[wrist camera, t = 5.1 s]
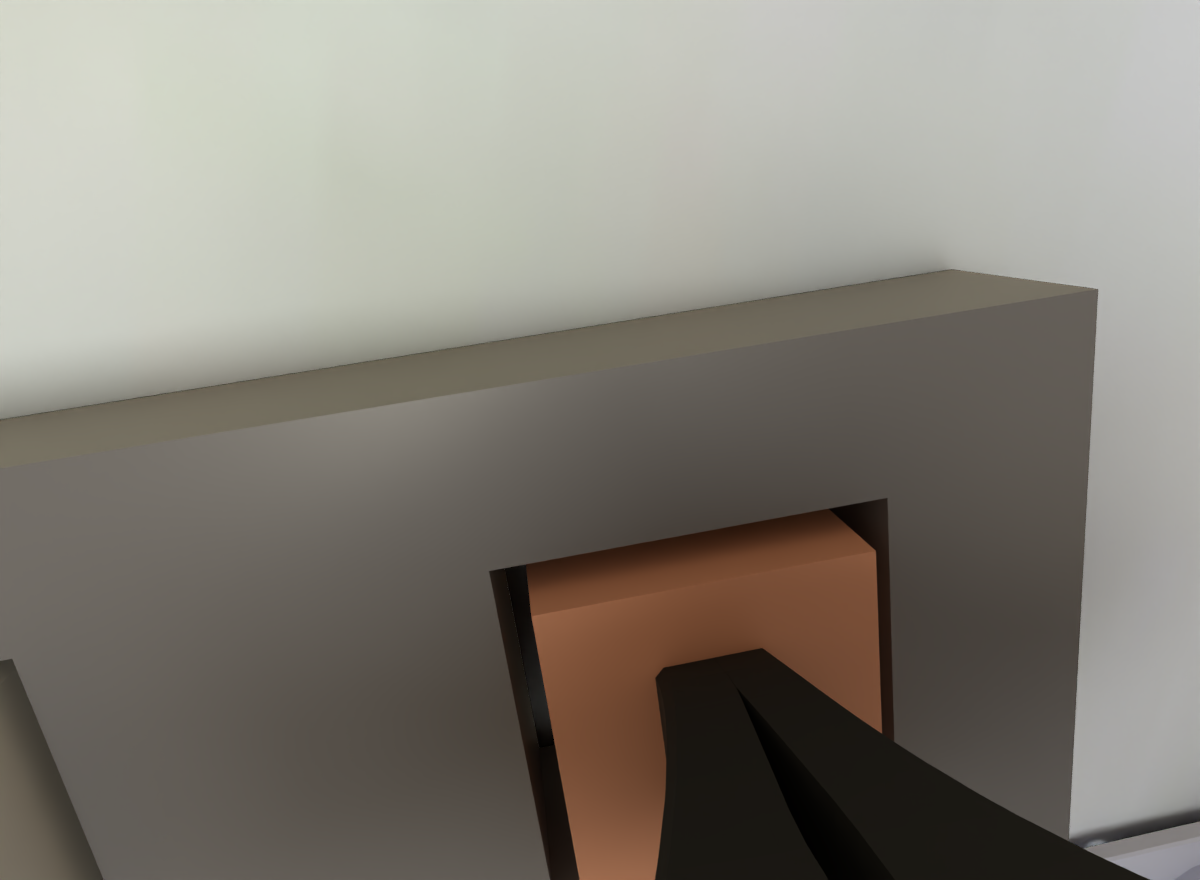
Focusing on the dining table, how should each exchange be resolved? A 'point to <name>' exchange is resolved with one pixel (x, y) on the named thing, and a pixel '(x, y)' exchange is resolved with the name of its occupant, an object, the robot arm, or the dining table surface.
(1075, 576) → the key block
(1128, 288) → the dining table surface
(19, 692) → the beige key
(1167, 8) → the dining table surface
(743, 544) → the terracotta key
